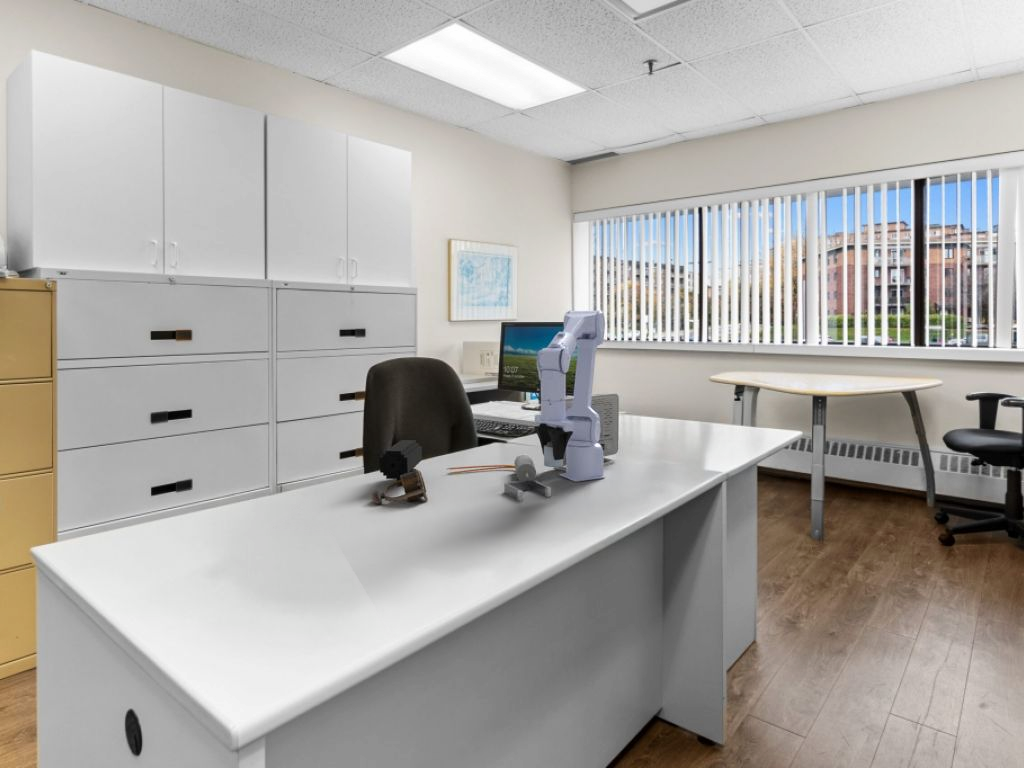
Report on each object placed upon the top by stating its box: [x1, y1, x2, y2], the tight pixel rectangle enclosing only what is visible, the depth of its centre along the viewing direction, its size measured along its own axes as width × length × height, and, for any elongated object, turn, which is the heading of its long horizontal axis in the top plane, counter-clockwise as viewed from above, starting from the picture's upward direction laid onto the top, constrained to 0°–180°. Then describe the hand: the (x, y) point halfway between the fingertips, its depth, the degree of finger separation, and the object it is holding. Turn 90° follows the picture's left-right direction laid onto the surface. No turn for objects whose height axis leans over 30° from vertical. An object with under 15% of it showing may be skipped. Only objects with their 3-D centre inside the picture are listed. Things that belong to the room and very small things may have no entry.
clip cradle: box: [503, 479, 552, 502], centre depth 150 cm, size 8×9×2 cm
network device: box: [553, 392, 620, 472], centre depth 180 cm, size 26×9×20 cm, turn 130°
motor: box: [446, 453, 537, 481], centre depth 165 cm, size 23×22×5 cm
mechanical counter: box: [371, 469, 429, 505], centre depth 146 cm, size 7×13×10 cm
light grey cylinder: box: [543, 442, 564, 468], centre depth 147 cm, size 4×4×5 cm
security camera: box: [379, 439, 423, 487], centre depth 162 cm, size 7×18×10 cm, turn 175°
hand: (553, 457), depth 147 cm, fingers closed on light grey cylinder, 4 cm apart
